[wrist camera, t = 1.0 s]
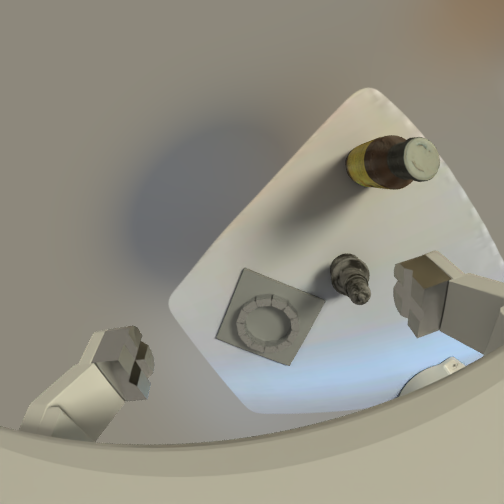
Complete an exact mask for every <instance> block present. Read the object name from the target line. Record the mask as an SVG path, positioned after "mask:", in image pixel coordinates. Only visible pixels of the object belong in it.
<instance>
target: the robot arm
mask: <svg viewBox="0 0 504 504" xmlns="http://www.w3.org/2000/svg"><path fill="white" fill-rule="evenodd" d="M394 277H395V278H396V279H397V280H398V281H397V283H396V285H395V286H394V291H393V297H394V301H395V305H396V308H397V310H398V312H399V313H400V315H401V316H403V317H406V318H408V326H409V327H410V329H411V330H412V331H413V333H414V334H415V336H416V337H417V338H419V337H422V336H425V335H427V334H430V333H433V332H435V331H438V330H440V331H441V332H443V333H445V334H446V335H448V336H450V337H452V338H454V339H456V340H458V341H460V342H461V343H463V344H465V345H467V346H469V347H471V348H473V349H474V350H476V351H478V352H480V353H482V354H484V356H483V357H482V358H480V359H478V360H476V361H475V362H473V363H471V364H469V365H467V366H465V365H464V364H462V363H461V362H460V361H458V360H457V359H456V358H454V357H450V358H448V359H446V360H445V361H444V362H442V363H441V364H439V365H436V366H433V367H430V368H428V369H425V370H424V371H422V372H420V373H419V374H417V375H416V376H415V377H413V378H412V379H411V380H410V381H409V382H408V383H407V384H406V385H405V387H404V388H403V390H402V391H401V393H400V396H399V397H397V398H395V399H392V400H390V401H387V402H384V403H381V404H379V405H376V406H373V407H370V408H367V409H364V410H361V411H358V412H355V413H352V414H348V415H345V416H342V417H339V418H335V419H331V420H328V421H324V422H320V423H316V424H312V425H308V426H304V427H299V428H295V429H290V430H285V431H280V432H275V433H271V434H264V435H259V436H252V437H246V438H239V439H231V440H222V441H213V442H201V443H186V444H158V445H156V444H154V445H143V444H137V445H136V444H113V443H98V442H96V440H97V439H98V437H99V436H100V435H101V434H102V432H103V431H104V430H105V428H106V427H107V426H108V424H109V423H110V422H111V421H112V419H113V418H114V417H115V415H116V414H117V413H118V411H119V410H120V409H121V407H122V406H123V405H124V403H125V402H124V401H135V400H146V399H147V398H148V393H149V389H150V381H149V380H148V378H149V377H150V376H151V375H152V374H153V371H154V357H153V354H152V351H151V349H150V348H149V346H148V345H147V344H145V343H144V342H142V341H141V338H142V334H141V333H140V331H139V329H138V328H137V327H135V326H128V327H121V328H114V329H108V330H102V331H97V332H95V333H93V335H92V337H91V339H90V341H89V343H88V345H87V347H86V349H85V351H84V353H83V355H82V357H81V360H80V362H79V364H78V365H74V366H73V367H72V368H71V369H69V370H68V371H67V372H66V373H65V374H64V375H63V376H61V377H60V378H59V379H58V380H57V381H56V382H55V383H53V384H52V385H51V386H50V387H49V388H48V389H47V390H45V391H44V392H43V393H42V394H41V395H40V396H39V397H38V398H36V399H35V400H34V401H33V402H32V403H31V404H30V406H29V408H28V410H27V413H26V414H25V417H24V419H23V421H22V424H21V426H20V428H19V430H14V429H10V428H6V427H2V426H0V504H504V283H502V282H499V281H496V280H492V279H488V278H485V277H481V276H478V275H474V274H471V273H467V274H464V273H463V272H462V271H461V270H460V269H459V268H457V267H456V266H455V265H454V264H453V263H452V262H450V261H449V260H448V259H447V258H446V257H444V256H443V255H442V254H441V253H440V252H438V251H432V252H430V253H427V254H424V255H422V256H419V257H416V258H413V259H410V260H407V261H404V262H400V263H397V264H395V268H394Z"/></svg>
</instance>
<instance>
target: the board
mask: <svg viewBox="0 0 504 504" xmlns="http://www.w3.org/2000/svg"><path fill="white" fill-rule="evenodd" d="M263 294H272V296H273V294H275V295H278V296H280V297H283V298H285V299H287V301H288V300H289V301H290V303H291V304H292V305H293V306H294V308H295V309H296V310H297V312H298V320H299V333H298V335H297V337H296V339H295V340H294V342H293V343H292V345H290V346H289V347H287V348H285V349H283V350H282V351H279V352H272V353H264V352H263V353H262V352H259V351H257V350H254V349H251V348H250V346H249V347H248V346H247V345H246V344H245V343H244V342H243V340H242V339H241V338H240V336H239V335H238V330H237V325H236V323H237V319H238V316H239V314H240V311H241V309H242V307H243V305H244V303H246V302H247V301H249V300H250V299H252V298H253V297H254V296H256V297H257V295H263ZM324 303H325V300H324V299H321V298H319V297H316V296H314V295H311V294H309V293H306V292H304V291H301V290H299V289H296V288H294V287H291V286H289V285H286V284H284V283H281V282H279V281H276V280H274V279H271V278H269V277H266V276H264V275H261V274H259V273H256V272H254V271H252V270H249V269H247V268H244V271H243V273H242V276H241V278H240V280H239V283H238V285H237V288H236V290H235V293H234V295H233V298H232V300H231V303H230V305H229V308H228V310H227V313H226V315H225V318H224V320H223V323H222V325H221V328H220V330H219V333H218V335H217V339H219V340H222V341H224V342H227V343H229V344H232V345H234V346H237V347H239V348H242V349H245V350H247V351H250V352H252V353H255V354H258V355H260V356H263V357H266V358H268V359H271V360H274V361H277V362H280V363H282V364H285V365H288V366H290V364H291V362H292V361H293V359H294V357H295V356H296V354H297V352H298V350H299V349H300V347H301V345H302V343H303V342H304V340H305V338H306V336H307V334H308V333H309V331H310V329H311V327H312V325H313V323H314V322H315V320H316V318H317V316H318V314H319V312H320V310H321V308H322V306H323V305H324ZM246 324H247V329H248V330H249V331H250V332H251V333H252V334H253V335H254V337H256V338H259V339H262V340H264V341H271V340H278V339H280V338H281V337H283V336H285V335H286V334H287V333H288V331H289V329H290V327H291V320H290V318H289V317H288V316H287V315H286V314H285V312H284V311H283V310H280V309H278V308H275V307H273V306H263V307H257V308H256V309H254V310H253V311H251V312H250V313H248V315H247V317H246Z"/></svg>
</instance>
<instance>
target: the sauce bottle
mask: <svg viewBox="0 0 504 504" xmlns="http://www.w3.org/2000/svg"><path fill="white" fill-rule="evenodd" d="M439 166H440V159H439V154H438V151H437V149H436V148H435V146H434V145H433V144H432V143H431V142H430V141H429V140H427V139H425V138H422V137H416V138H409V139H407V140H406V139H404V138H402V137H399V136H392V135H391V136H384V137H380V138H377V139H374V140H372V141H369V142H366V143H364V144H361V145H359V146H357V147H356V148H354V149H353V150H352V151H351V152H350V153H349V155H348V157H347V159H346V168H347V172H348V175H349V176H350V177H351V179H352V180H353V181H355V182H356V183H358V184H360V185H362V186H365V187H375V188H384V189H401V188H404V187H406V186H407V185H409V184H410V183H411V182H412V181H413V180H414V181H418V182H422V181H428V180H430V179H432V178H433V177H434V176H435V175H436V173H437V171H438V168H439Z"/></svg>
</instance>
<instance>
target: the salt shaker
mask: <svg viewBox="0 0 504 504" xmlns="http://www.w3.org/2000/svg"><path fill="white" fill-rule="evenodd" d="M330 273H331V280H332V285H333V287H334V288H335V289H336V291H337V292H339V293H340V294H343V295H347V296H348V297H349V298H350V299H351V301H352V302H353V303H355V304H357V305H363V304H365V303H366V302H368V300H369V299H370V296H371V292H370V289H369V287H368V281H369V276H370V275H369V270H368V267H367V265H366V264H365V263H364V262H363V261H361V260H360V259H358V257H356V256H355V255H352V254H342V255H340V256H338V257H337V258H336V259H334V261H333V262H332V265H331V268H330Z"/></svg>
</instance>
